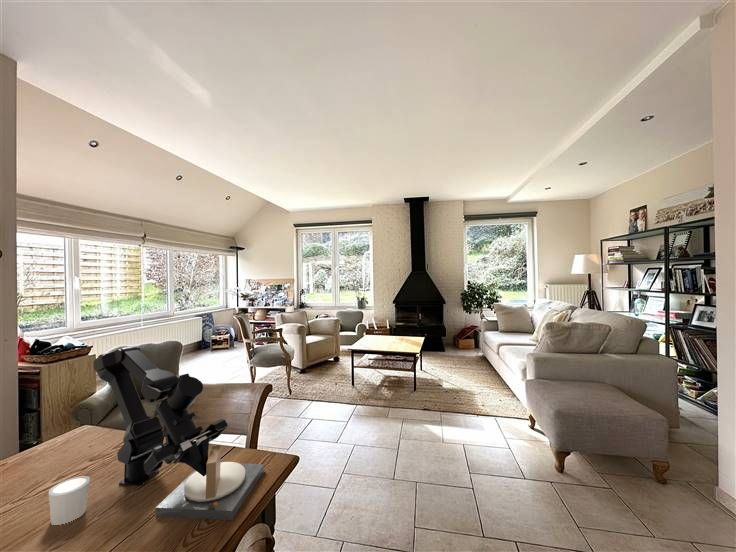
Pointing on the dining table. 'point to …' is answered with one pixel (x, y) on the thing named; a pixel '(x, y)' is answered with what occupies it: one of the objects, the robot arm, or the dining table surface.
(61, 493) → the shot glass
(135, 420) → the robot arm
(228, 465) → the dial
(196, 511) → the dial plate
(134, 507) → the dining table surface
